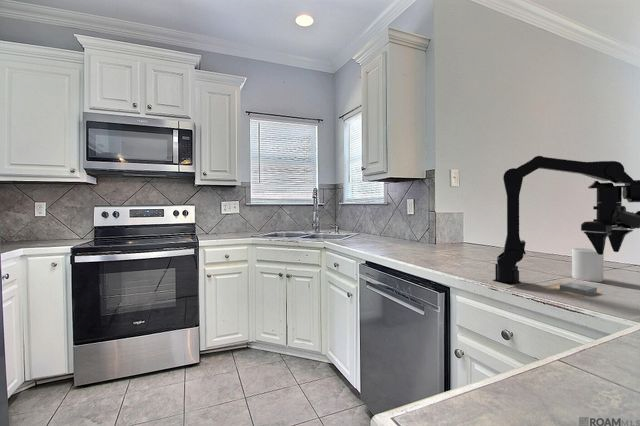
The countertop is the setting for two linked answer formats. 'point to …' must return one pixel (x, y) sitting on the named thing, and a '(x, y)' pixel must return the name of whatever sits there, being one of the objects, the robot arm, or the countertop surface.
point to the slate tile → (578, 289)
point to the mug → (587, 265)
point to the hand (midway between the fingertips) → (608, 253)
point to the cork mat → (557, 288)
